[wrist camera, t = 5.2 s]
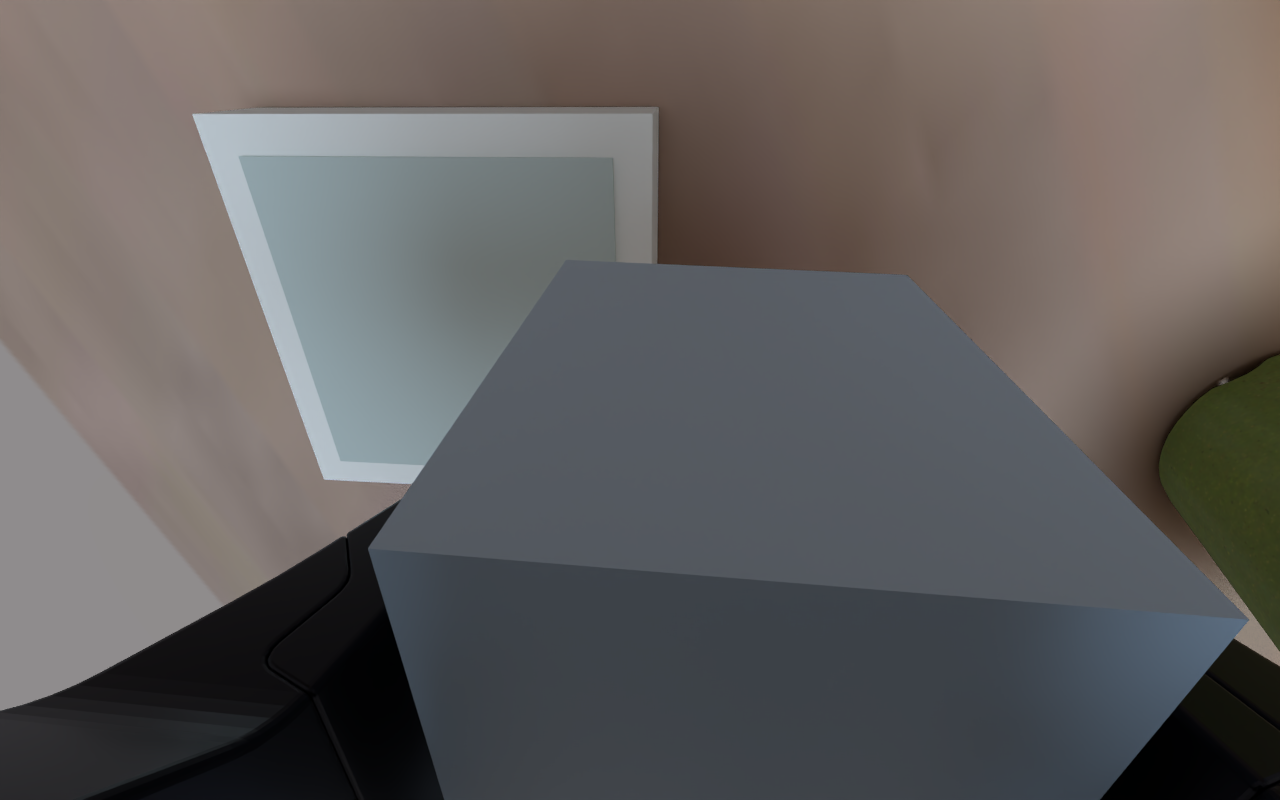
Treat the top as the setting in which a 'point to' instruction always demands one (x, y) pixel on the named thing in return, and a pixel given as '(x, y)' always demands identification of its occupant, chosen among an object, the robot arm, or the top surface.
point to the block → (777, 559)
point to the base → (419, 249)
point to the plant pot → (1234, 484)
